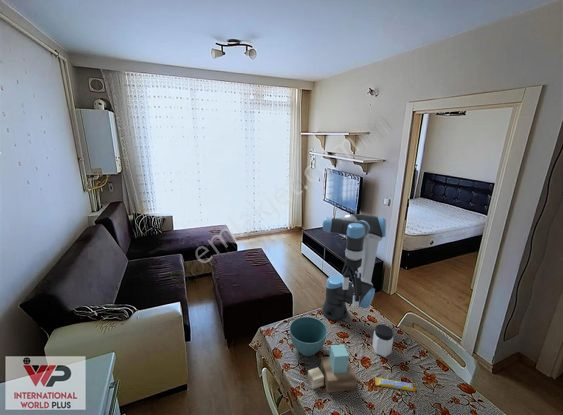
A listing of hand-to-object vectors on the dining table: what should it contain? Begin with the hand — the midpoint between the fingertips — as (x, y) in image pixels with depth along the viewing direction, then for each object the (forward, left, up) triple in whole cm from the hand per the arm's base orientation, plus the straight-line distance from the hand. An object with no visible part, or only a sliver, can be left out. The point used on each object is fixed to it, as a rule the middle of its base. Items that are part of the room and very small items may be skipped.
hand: (350, 297), depth 124 cm
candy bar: (+23, +14, -29) cm, 40 cm away
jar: (+4, +17, -29) cm, 34 cm away
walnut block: (+17, -10, -29) cm, 35 cm away
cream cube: (+18, -20, -29) cm, 39 cm away
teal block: (+17, -10, -23) cm, 30 cm away
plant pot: (0, -20, -29) cm, 35 cm away
